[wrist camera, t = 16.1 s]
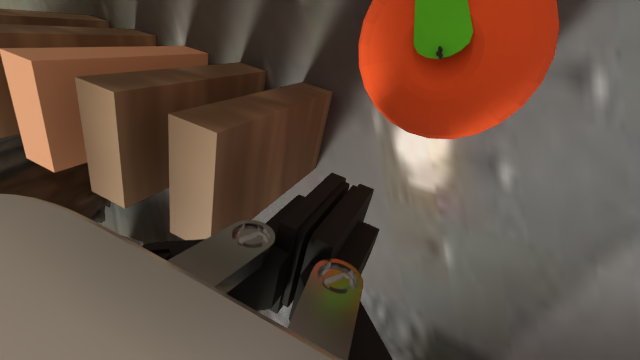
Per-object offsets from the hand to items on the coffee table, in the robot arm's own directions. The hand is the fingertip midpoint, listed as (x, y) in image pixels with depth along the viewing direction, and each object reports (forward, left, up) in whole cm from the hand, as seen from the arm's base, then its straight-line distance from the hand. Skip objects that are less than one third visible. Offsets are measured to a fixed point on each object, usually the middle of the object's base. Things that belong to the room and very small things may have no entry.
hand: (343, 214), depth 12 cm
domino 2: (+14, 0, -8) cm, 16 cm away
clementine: (-1, -7, -8) cm, 10 cm away
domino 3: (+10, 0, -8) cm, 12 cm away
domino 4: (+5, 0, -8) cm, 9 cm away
